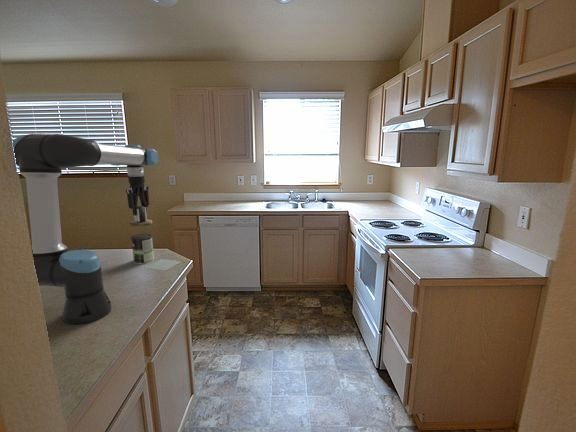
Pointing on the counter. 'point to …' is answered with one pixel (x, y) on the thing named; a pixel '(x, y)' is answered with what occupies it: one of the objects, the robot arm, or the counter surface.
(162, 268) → the mat
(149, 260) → the coffee can
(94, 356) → the counter surface
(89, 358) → the counter surface
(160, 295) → the counter surface
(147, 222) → the lid
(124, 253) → the counter surface
